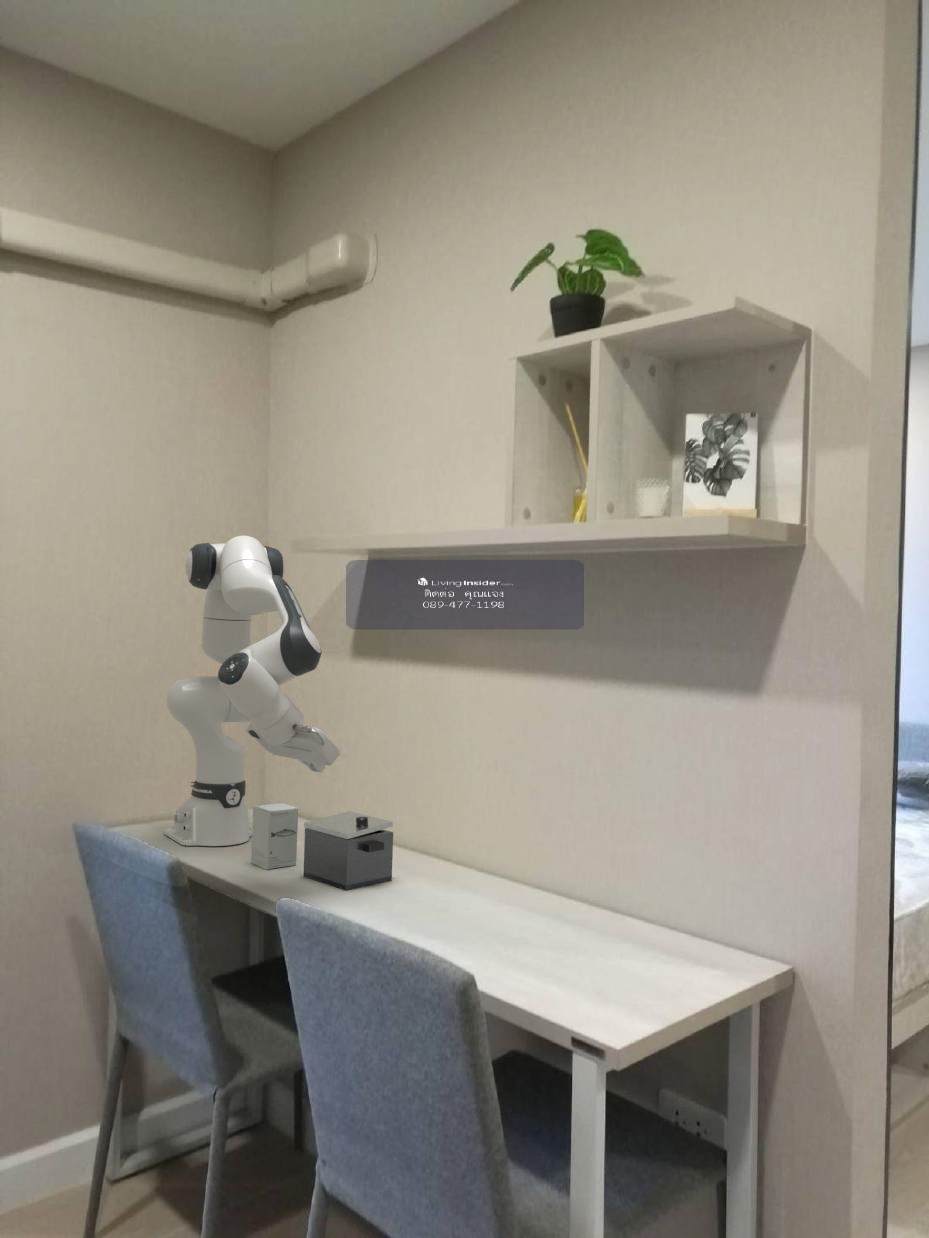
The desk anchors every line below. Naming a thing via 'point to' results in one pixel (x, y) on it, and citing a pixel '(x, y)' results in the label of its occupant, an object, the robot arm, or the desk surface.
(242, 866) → the desk surface
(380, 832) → the grey storage bin
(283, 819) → the supplement box
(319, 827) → the lid
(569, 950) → the desk surface
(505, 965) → the desk surface
